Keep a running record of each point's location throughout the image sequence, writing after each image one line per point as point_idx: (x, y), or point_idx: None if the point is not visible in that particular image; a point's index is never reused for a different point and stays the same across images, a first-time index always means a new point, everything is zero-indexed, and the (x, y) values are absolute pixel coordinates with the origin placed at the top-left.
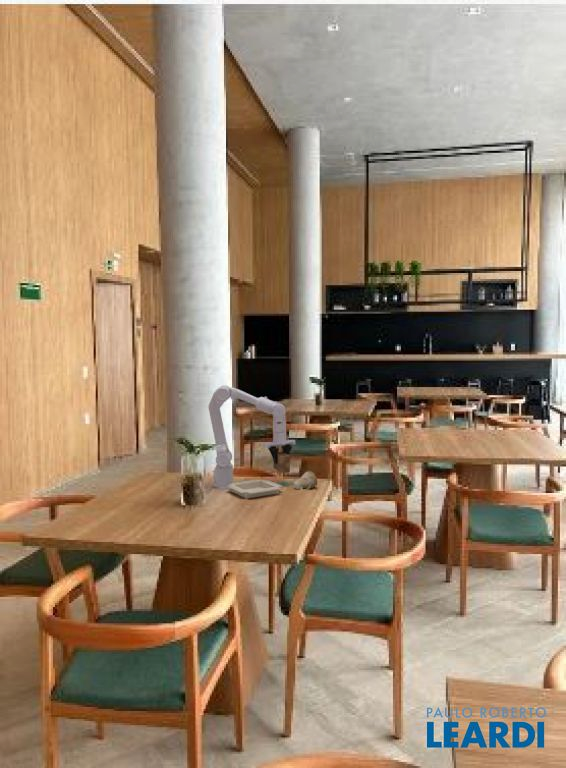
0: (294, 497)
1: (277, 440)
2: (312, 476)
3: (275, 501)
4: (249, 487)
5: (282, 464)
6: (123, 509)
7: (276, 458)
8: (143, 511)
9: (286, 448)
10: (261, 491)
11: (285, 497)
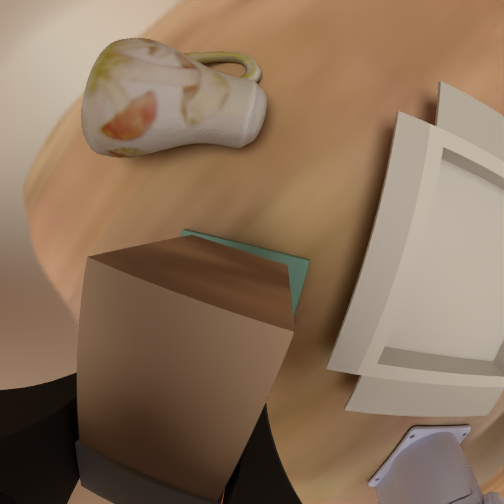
0: (388, 19)
1: None
2: (136, 39)
3: (491, 61)
4: (436, 357)
5: (274, 282)
6: None
7: (262, 440)
8: None
9: (17, 461)
10: None
11: (425, 56)
